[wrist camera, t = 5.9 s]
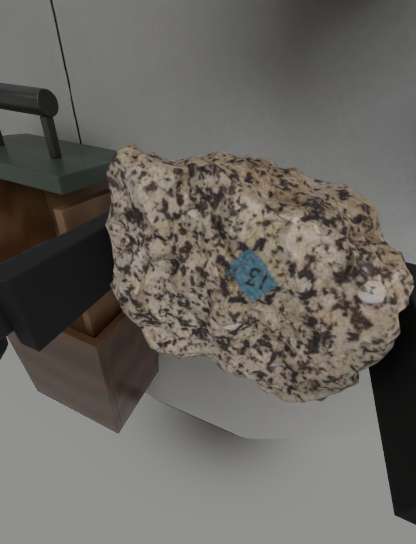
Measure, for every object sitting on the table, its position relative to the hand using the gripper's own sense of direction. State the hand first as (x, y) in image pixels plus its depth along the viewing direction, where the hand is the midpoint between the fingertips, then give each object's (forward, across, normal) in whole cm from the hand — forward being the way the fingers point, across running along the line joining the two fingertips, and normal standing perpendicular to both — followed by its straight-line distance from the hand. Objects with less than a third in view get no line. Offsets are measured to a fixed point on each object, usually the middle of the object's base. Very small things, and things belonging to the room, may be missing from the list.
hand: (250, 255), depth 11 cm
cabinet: (+12, -20, -24) cm, 33 cm away
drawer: (+11, -20, -6) cm, 23 cm away
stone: (0, 0, 0) cm, 0 cm away
